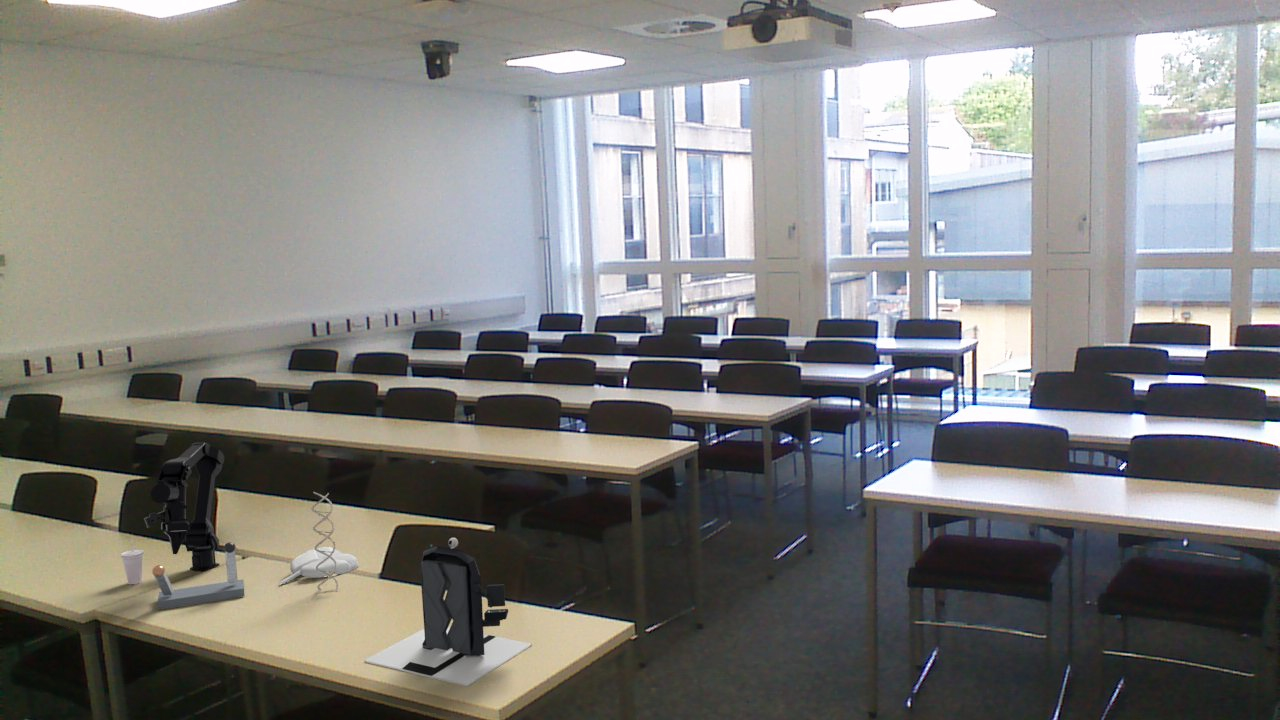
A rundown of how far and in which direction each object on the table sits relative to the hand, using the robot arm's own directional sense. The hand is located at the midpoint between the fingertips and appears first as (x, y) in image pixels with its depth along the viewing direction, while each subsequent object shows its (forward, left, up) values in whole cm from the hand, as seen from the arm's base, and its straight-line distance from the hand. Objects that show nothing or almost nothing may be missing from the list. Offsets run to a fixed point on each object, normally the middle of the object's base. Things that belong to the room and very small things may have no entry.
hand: (175, 554), depth 294 cm
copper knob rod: (+10, +8, -8) cm, 16 cm away
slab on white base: (+16, +108, -11) cm, 110 cm away
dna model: (-12, +47, -11) cm, 50 cm away
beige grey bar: (-2, +20, -8) cm, 22 cm away
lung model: (-24, +32, -12) cm, 41 cm away
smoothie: (0, -18, -11) cm, 21 cm away
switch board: (+4, +14, -11) cm, 18 cm away
